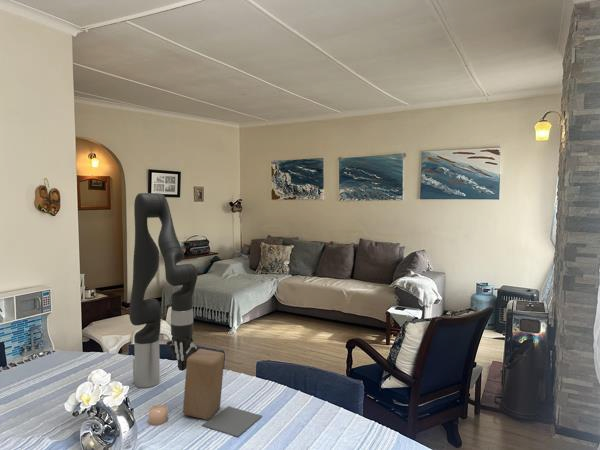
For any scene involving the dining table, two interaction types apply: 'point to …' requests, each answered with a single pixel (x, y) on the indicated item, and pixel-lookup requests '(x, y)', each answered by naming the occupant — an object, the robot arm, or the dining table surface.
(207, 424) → the mat
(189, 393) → the block
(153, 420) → the tan rounded lump
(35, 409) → the dining table surface
